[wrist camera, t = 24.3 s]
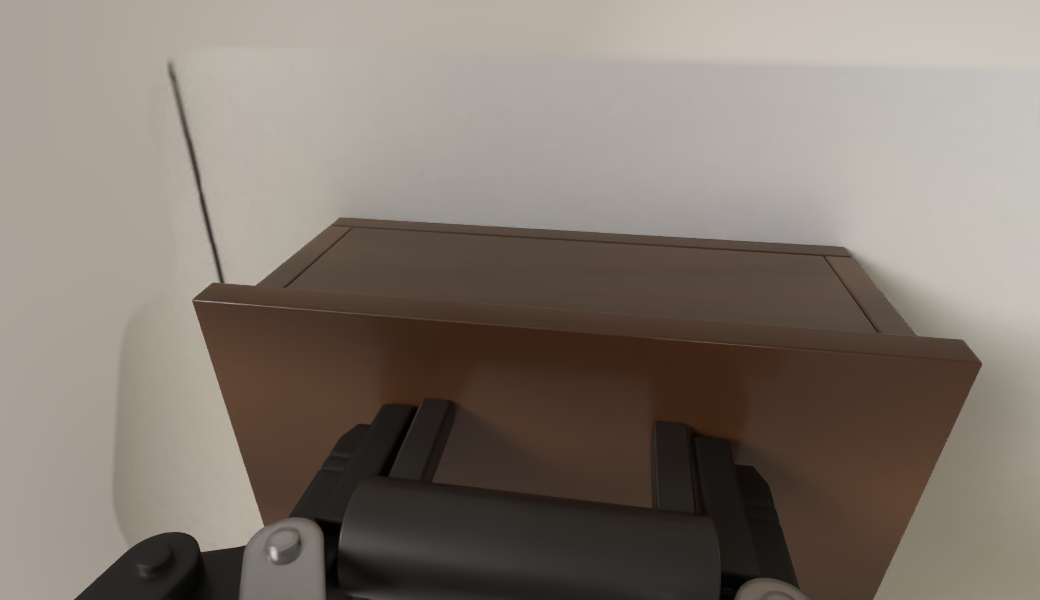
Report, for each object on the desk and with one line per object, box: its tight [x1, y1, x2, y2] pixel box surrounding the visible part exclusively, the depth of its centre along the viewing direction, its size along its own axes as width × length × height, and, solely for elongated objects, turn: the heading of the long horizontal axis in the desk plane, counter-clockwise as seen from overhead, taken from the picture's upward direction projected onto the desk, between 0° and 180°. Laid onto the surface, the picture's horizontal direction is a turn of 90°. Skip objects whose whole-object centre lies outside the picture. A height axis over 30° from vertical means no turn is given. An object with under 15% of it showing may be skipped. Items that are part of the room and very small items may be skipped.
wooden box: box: [256, 218, 917, 336], centre depth 20 cm, size 14×16×6 cm
